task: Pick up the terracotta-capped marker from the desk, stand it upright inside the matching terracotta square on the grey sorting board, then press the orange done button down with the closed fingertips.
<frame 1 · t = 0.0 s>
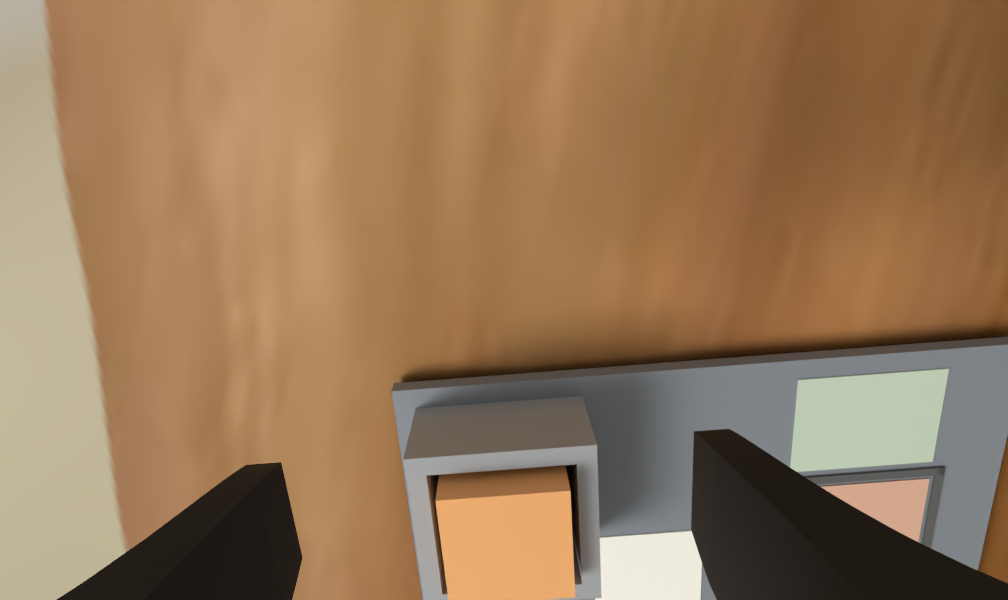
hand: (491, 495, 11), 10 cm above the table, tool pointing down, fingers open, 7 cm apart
grey sorting board: (698, 495, 23), on the table
done button: (506, 523, 19), point 3 cm above the table, slide at 0.0 cm
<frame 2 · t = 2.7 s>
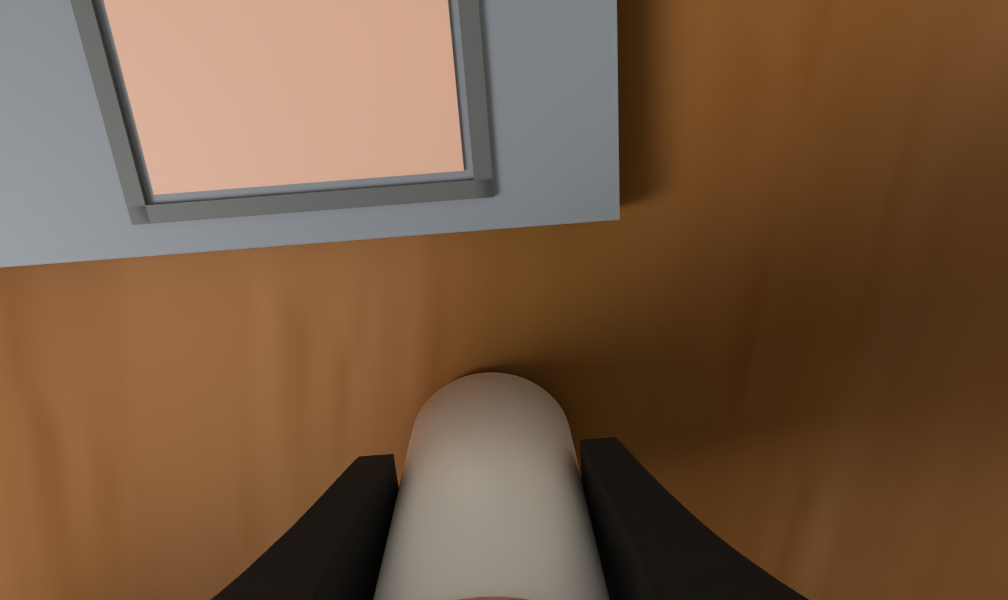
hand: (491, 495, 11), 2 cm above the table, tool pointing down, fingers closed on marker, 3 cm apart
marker: (491, 445, 12), on the table, touching gripper
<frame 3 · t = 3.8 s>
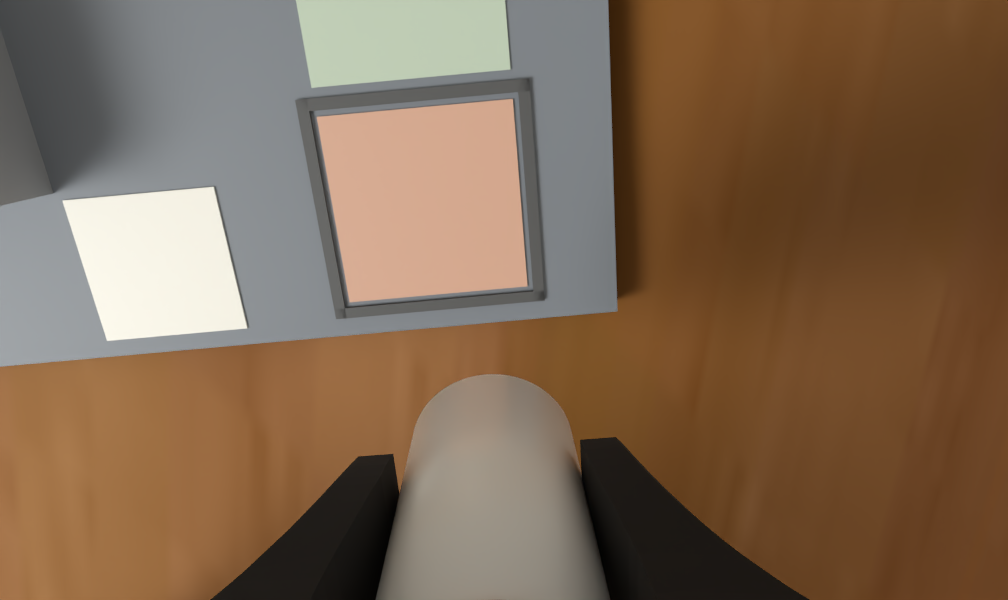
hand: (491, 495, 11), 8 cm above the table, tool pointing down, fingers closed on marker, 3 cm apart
grey sorting board: (214, 145, 16), on the table
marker: (492, 446, 12), point 6 cm above the table, touching gripper
when the fingers open (3 cm above the table, at t = 5.2 s): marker drops 1 cm, resting on grey sorting board.
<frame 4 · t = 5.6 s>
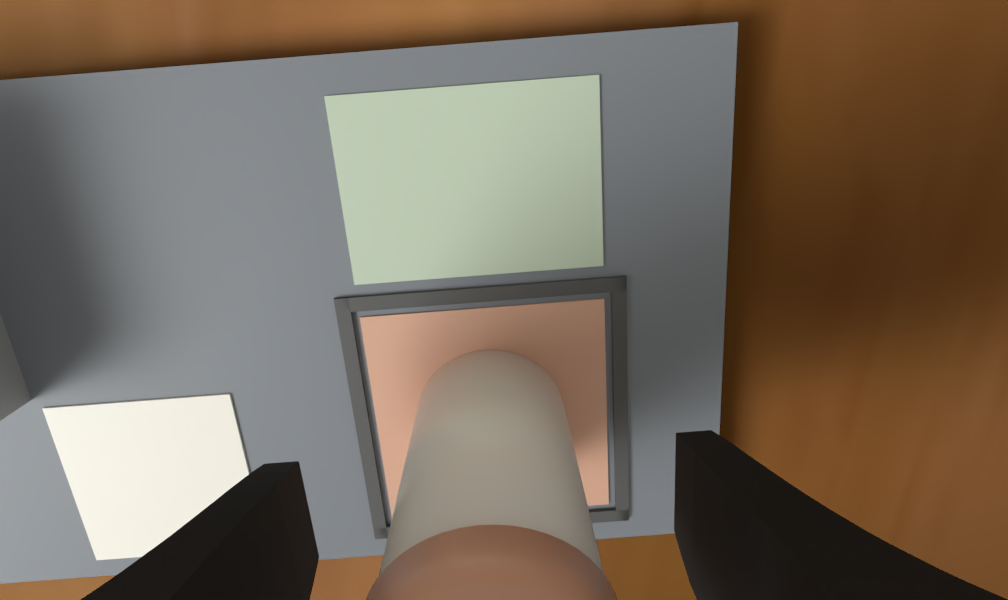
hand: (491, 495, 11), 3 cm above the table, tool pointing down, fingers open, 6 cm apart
grey sorting board: (231, 339, 13), on the table
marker: (491, 417, 13), point 1 cm above the table, touching grey sorting board
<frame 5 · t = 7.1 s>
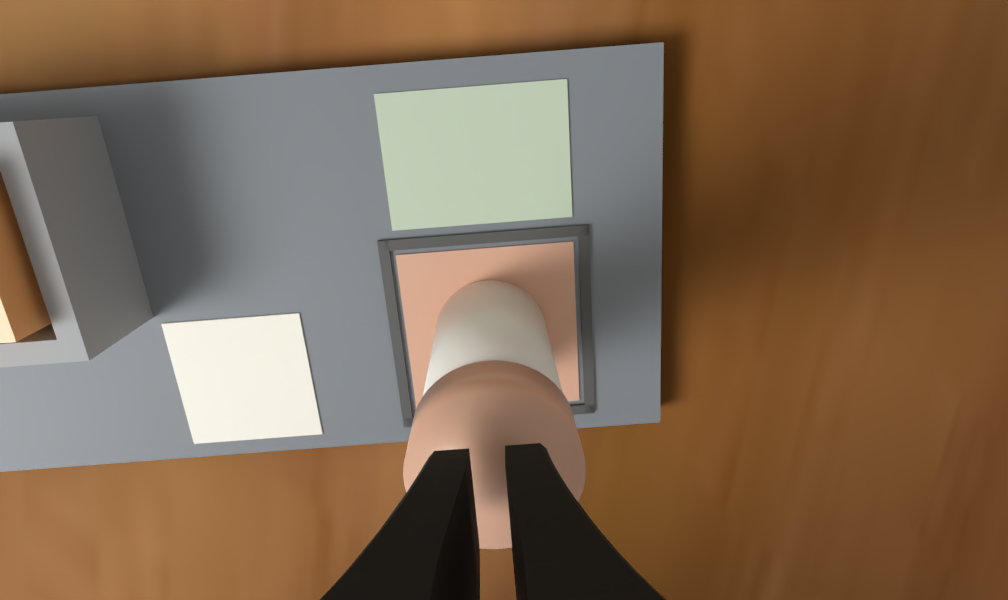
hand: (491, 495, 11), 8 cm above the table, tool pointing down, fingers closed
grey sorting board: (299, 273, 18), on the table
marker: (491, 332, 18), point 1 cm above the table, touching grey sorting board
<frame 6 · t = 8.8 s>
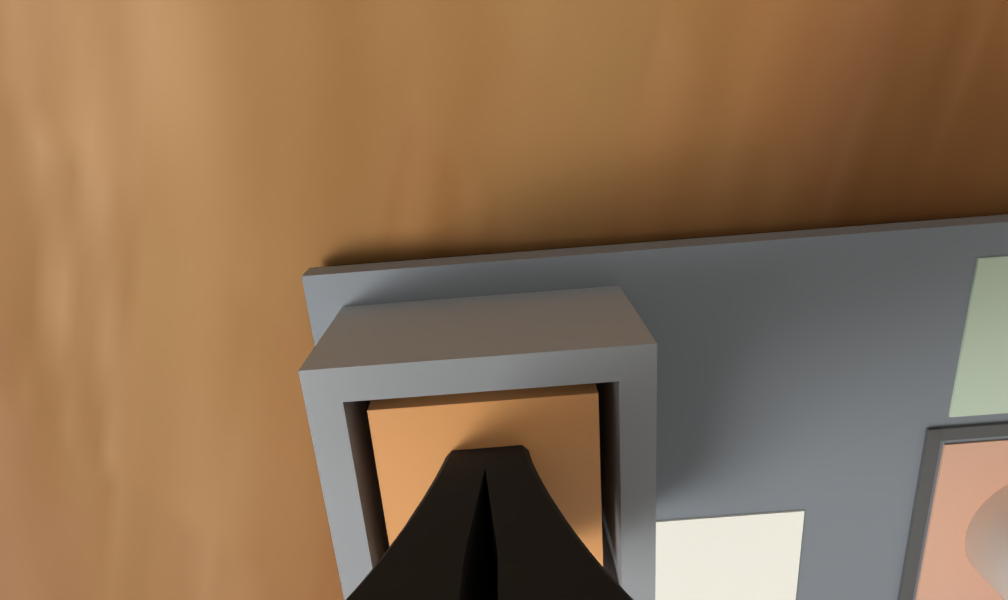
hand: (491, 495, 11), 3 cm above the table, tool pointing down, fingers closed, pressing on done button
grey sorting board: (794, 458, 15), on the table
done button: (491, 459, 12), point 2 cm above the table, slide at 1.0 cm, touching gripper
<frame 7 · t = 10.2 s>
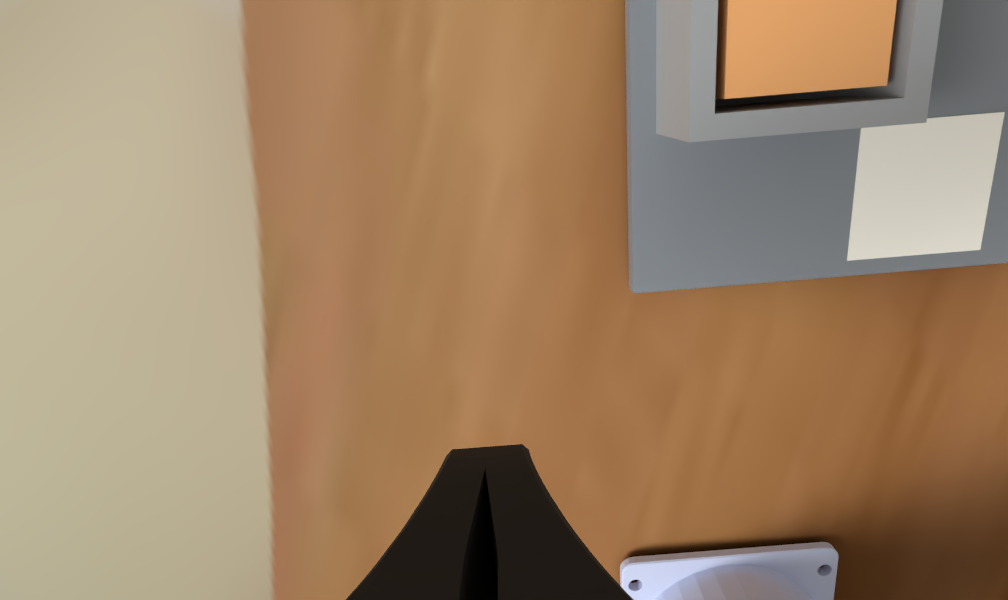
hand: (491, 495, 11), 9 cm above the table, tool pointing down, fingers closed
grey sorting board: (993, 74, 18), on the table
done button: (788, 9, 15), point 2 cm above the table, slide at 1.0 cm
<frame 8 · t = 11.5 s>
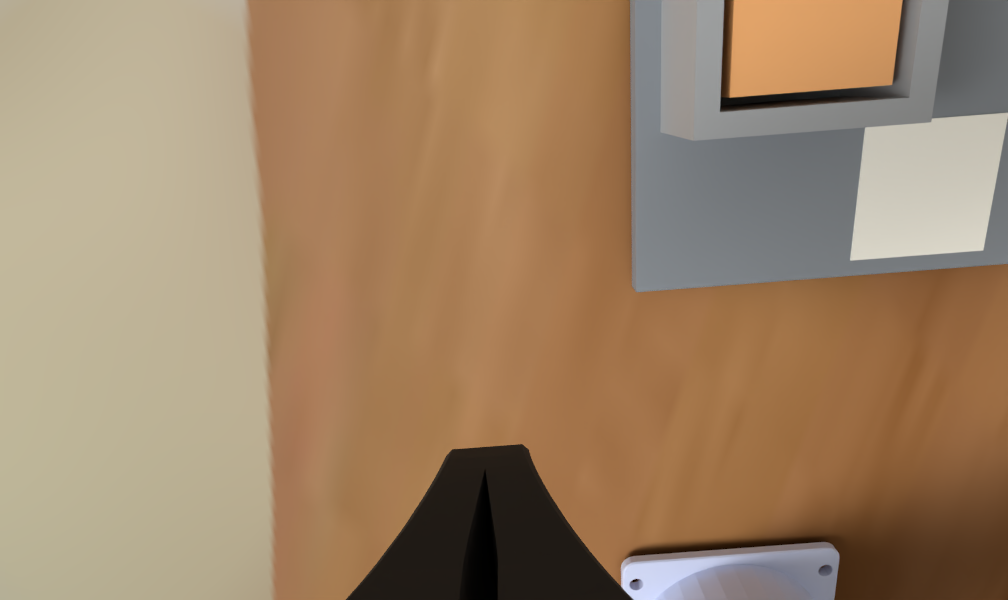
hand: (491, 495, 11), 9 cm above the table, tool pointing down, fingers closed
grey sorting board: (997, 75, 18), on the table
done button: (793, 8, 15), point 2 cm above the table, slide at 1.0 cm
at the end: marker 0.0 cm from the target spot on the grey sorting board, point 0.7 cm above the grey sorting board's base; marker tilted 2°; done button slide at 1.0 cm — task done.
